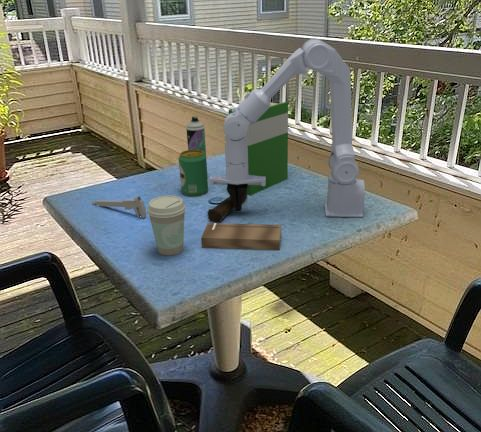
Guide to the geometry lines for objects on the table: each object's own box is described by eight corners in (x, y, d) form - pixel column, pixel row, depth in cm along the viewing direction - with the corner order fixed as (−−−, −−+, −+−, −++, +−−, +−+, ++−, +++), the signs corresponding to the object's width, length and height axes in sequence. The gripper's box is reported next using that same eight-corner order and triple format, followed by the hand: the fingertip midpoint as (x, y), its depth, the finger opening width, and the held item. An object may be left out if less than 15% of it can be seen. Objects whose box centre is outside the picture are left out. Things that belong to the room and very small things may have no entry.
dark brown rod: (220, 225, 123) (219, 208, 121) (207, 222, 125) (206, 205, 123) (255, 199, 138) (255, 184, 136) (243, 197, 140) (242, 182, 138)
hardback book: (269, 174, 156) (268, 99, 146) (287, 179, 152) (288, 102, 142) (231, 190, 145) (228, 109, 135) (250, 195, 140) (248, 113, 130)
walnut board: (281, 234, 117) (281, 224, 116) (279, 249, 110) (279, 239, 109) (208, 232, 119) (207, 222, 118) (201, 247, 112) (201, 237, 111)
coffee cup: (157, 262, 106) (151, 212, 101) (148, 245, 114) (142, 198, 109) (194, 253, 109) (190, 205, 104) (183, 238, 117) (178, 192, 112)
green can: (179, 189, 147) (175, 151, 142) (204, 185, 149) (202, 147, 144) (184, 198, 140) (181, 158, 135) (211, 194, 142) (208, 155, 137)
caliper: (146, 218, 128) (144, 196, 126) (144, 220, 128) (141, 198, 125) (94, 203, 139) (91, 183, 136) (91, 205, 138) (88, 184, 135)
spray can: (192, 175, 157) (187, 114, 149) (209, 176, 156) (205, 114, 148) (188, 181, 152) (183, 118, 144) (205, 182, 151) (201, 118, 143)
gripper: (266, 156, 125) (266, 204, 131) (211, 156, 127) (214, 203, 133) (264, 165, 119) (264, 215, 125) (206, 164, 121) (209, 214, 127)
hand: (238, 210), depth 128 cm, fingers closed
